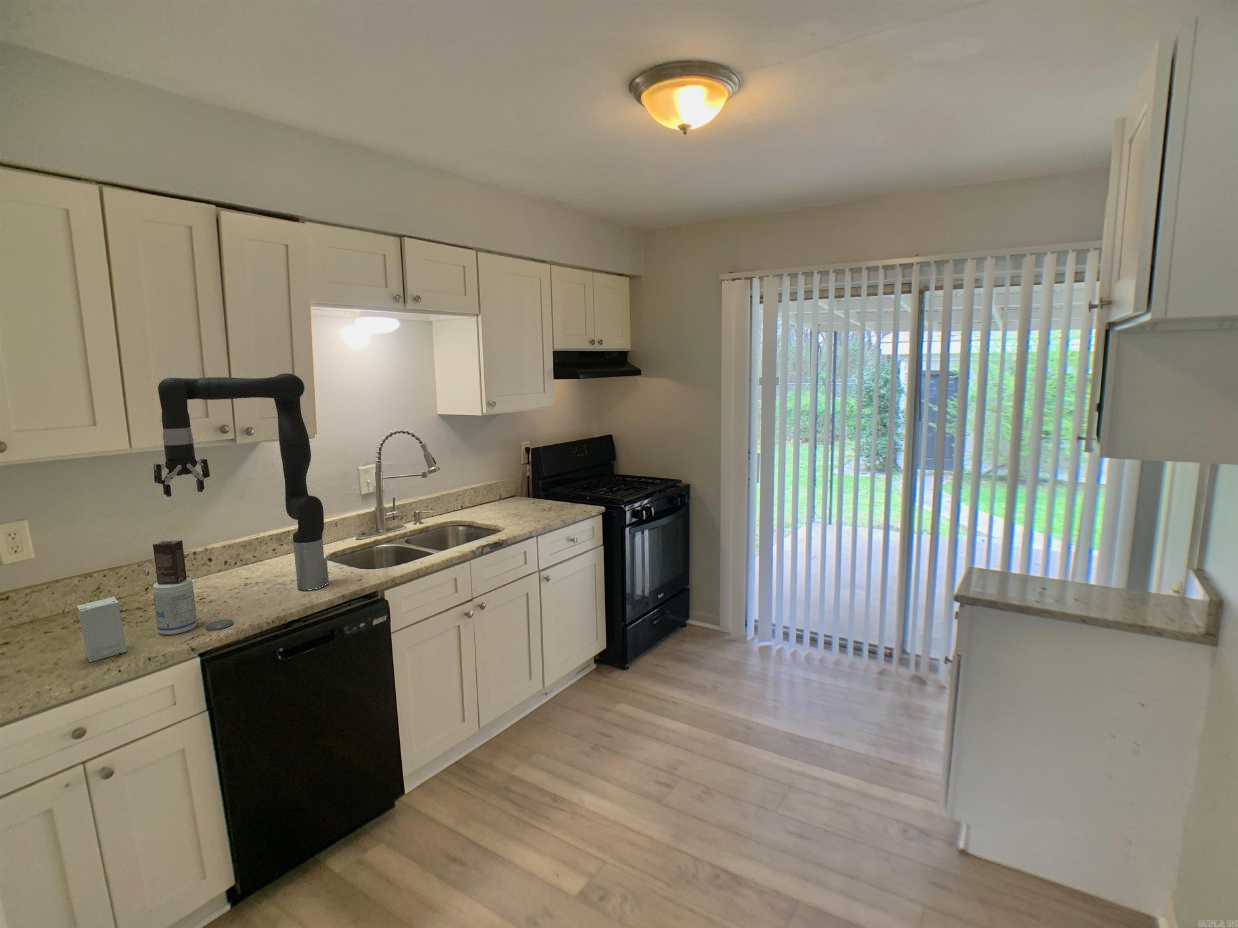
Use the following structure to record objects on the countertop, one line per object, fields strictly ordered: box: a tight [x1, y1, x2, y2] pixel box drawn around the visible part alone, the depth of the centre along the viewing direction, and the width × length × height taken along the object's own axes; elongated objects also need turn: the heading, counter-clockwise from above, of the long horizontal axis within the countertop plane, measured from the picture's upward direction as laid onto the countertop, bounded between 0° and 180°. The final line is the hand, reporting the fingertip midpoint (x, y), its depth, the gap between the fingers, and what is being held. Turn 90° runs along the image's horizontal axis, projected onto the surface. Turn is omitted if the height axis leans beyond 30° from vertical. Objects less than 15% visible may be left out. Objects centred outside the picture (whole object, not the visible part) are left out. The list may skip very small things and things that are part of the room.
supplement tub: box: [152, 577, 198, 636], centre depth 180 cm, size 10×10×15 cm
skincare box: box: [76, 596, 128, 663], centre depth 164 cm, size 8×6×15 cm
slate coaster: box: [205, 618, 234, 632], centre depth 183 cm, size 7×7×1 cm
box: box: [152, 539, 187, 584], centre depth 178 cm, size 6×4×12 cm
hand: (184, 494), depth 191 cm, fingers open, 8 cm apart
